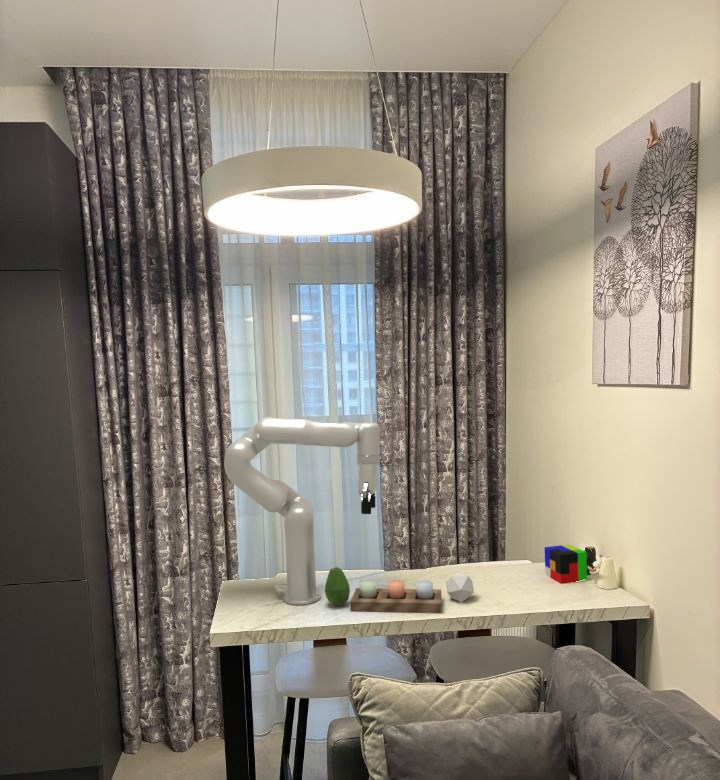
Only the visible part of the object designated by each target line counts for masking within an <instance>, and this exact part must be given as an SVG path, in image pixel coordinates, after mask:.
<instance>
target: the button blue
mask: <svg viewBox="0 0 720 780" xmlns="http://www.w3.org/2000/svg"><path fill="white" fill-rule="evenodd" d="M415 586H416V588H415V589H417V597H418V598H420V599H430V598H432V597H433V589H434V583H433V582H432V581H430V580H419V581H417V582H416V584H415Z"/></svg>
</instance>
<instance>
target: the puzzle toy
mask: <svg viewBox="0 0 720 780" xmlns="http://www.w3.org/2000/svg"><path fill="white" fill-rule="evenodd" d="M543 549H544V571H545V572H544V574H545V576H547V577H548V578H550V579H552V580H553V581H555V582H557V583H559V584H561V585H564V584H572V583H571V582H573V583H577V582H576V581H580V580H583V579H587V580H588V571H587V569H588V567H587V565H588V563H587V551H585V550H582V549H581V548H578V547H576V546H574V545H572V544H561V545H554V546H552V545H551V546H545V547H544V548H543Z"/></svg>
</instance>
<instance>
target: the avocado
mask: <svg viewBox="0 0 720 780" xmlns="http://www.w3.org/2000/svg"><path fill="white" fill-rule="evenodd" d="M350 592H351V591H350V584H349V581H348V578H347V576H346V575H345V572H344V571H343V570H342V569H341V568H340V567H337V566H335V567H333V568H330V569H329V572H328V575H327V578H326V581H325V586H324V594H325V598H326V599H327V601H328V602H329V603H331V604H332V605H334V606H343V605H345V604H346V602H348V601H349V597H350Z"/></svg>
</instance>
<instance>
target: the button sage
mask: <svg viewBox="0 0 720 780" xmlns="http://www.w3.org/2000/svg"><path fill="white" fill-rule="evenodd" d="M359 588H360V596H361V597H363V598H373V597H375V596H376V595H377V590H376V589H377V581H376V580H374V579H364V580H361V581H360V582H359Z"/></svg>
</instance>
